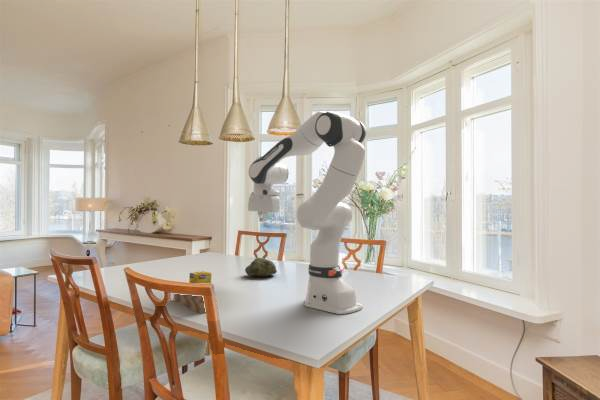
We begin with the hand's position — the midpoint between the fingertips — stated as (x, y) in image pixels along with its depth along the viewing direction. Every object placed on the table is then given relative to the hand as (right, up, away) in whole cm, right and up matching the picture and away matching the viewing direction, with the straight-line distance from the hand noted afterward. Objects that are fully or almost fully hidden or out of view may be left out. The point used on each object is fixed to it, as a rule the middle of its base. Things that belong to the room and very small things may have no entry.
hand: (262, 221), depth 160 cm
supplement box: (-20, -29, -30) cm, 46 cm away
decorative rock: (-2, -29, +17) cm, 34 cm away
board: (-22, -28, -35) cm, 50 cm away
